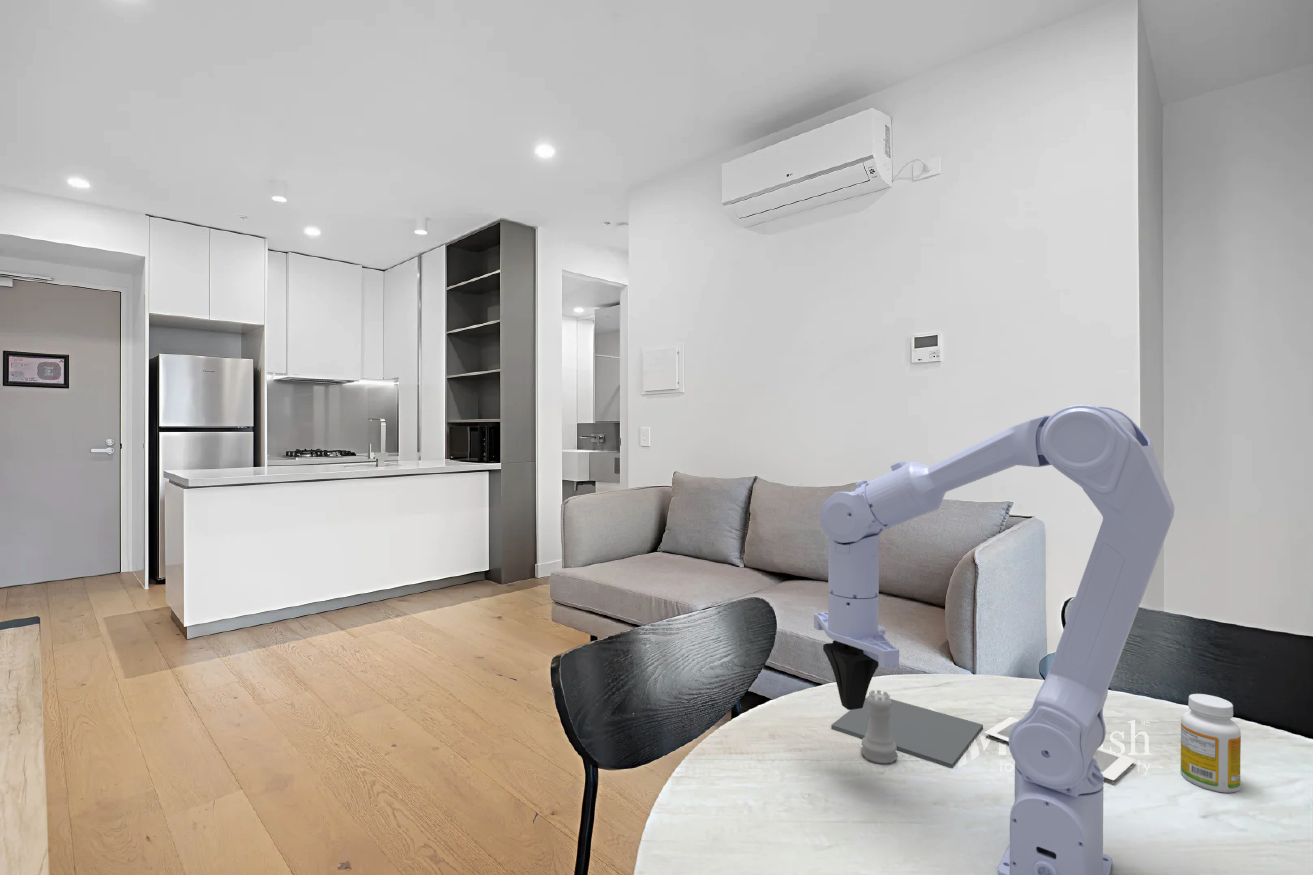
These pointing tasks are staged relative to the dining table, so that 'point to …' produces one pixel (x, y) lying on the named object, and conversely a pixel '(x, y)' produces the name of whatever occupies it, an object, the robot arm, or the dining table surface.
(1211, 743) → the supplement bottle
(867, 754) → the rook chess piece
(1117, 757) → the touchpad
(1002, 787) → the dining table surface
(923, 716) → the mat
